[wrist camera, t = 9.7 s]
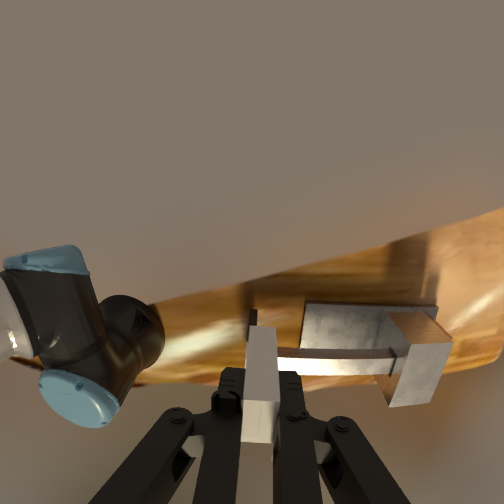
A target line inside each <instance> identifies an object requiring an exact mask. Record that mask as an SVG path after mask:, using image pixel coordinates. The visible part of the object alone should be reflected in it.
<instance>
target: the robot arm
mask: <svg viewBox="0 0 504 504" xmlns="http://www.w3.org/2000/svg"><path fill="white" fill-rule="evenodd" d="M3 268H4V269H5V270H4V271H2V272H0V362H2V361H4V360H5V359H7V358H9V357H11V356H13V355H19V356H22V357H25V358H27V359H32V358H34V357H35V356H37V355H38V356H39V358H40V360H41V362H42V365H43V367H44V369H45V370H44V371H42V373H41V374H40V378H39V383H38V386H39V390H40V392H41V394H42V396H43V398H44V399H45V401H46V402H47V403H48V404H49V406H50V407H51V408H52V409H53V410H54V411H56V412H57V413H58V414H60V415H61V416H62V417H64V418H66V419H67V420H69V421H70V422H72V423H75V424H77V425H80V426H83V427H88V428H100V427H103V426H105V425H107V424H108V423H109V422H110V421H111V420H112V418H113V417H114V415H115V414H116V413H117V412H118V411H119V409H120V407H121V405H122V403H123V401H124V399H125V397H126V395H127V394H128V392H129V390H130V388H131V386H132V384H133V383H134V381H135V379H136V377H137V375H138V374H139V373H140V372H141V371H143V370H144V369H146V368H148V367H150V366H151V365H153V364H154V363H155V362H156V361H157V360H158V358H159V356H160V354H161V353H162V351H163V348H164V344H165V334H164V330H163V327H162V324H161V322H160V320H159V319H158V317H157V316H156V314H155V313H154V312H153V311H152V310H151V309H150V308H149V307H148V306H147V305H146V304H144V303H143V302H141V301H139V300H137V299H135V298H133V297H130V296H125V295H114V296H110V297H108V298H106V299H104V300H103V301H102V302H101V303H99V304H98V301H97V298H96V295H95V292H94V289H93V286H92V283H91V279H90V276H89V275H90V272H89V271H87V268H86V265H85V262H84V259H83V256H82V253H81V251H80V250H79V249H78V248H77V247H76V246H73V245H64V246H58V247H52V248H47V249H42V250H37V251H32V252H27V253H23V254H18V255H14V256H10V257H6V258H4V260H3ZM211 405H212V407H211V410H210V411H208V412H206V413H202V414H194V415H193V414H192V413H191V412H190V411H189V410H187V409H185V408H180V407H176V408H171V409H168V410H166V411H165V412H164V413H163V414H162V415H161V417H160V418H159V419H158V420H157V422H156V423H155V424H154V425H153V427H152V428H151V429H150V430H149V431H148V433H147V434H146V435H145V436H144V438H143V439H142V440H141V441H140V442H139V444H138V445H137V446H136V447H135V449H134V450H133V451H132V452H131V453H130V455H129V456H128V457H127V458H126V459H125V461H124V462H123V463H122V464H121V465H120V467H119V468H118V469H117V470H116V471H115V472H114V474H113V475H112V476H111V477H110V479H109V480H108V481H107V482H106V483H105V484H104V485H103V487H102V488H101V489H100V490H99V491H98V492H97V494H96V495H95V496H94V497H93V498H92V500H91V501H90V502H89V503H88V504H168V503H169V501H170V499H171V498H172V496H173V494H174V493H175V491H176V490H177V488H178V487H179V485H180V483H181V482H182V480H183V478H184V477H185V475H186V474H187V472H188V470H189V469H190V467H191V465H192V464H193V462H194V460H195V458H196V457H199V456H202V459H201V464H200V468H199V473H198V478H197V483H196V488H195V493H194V498H193V503H192V504H235V502H236V491H237V480H238V479H237V478H238V469H239V457H240V444H241V441H243V442H258V443H273V441H274V448H273V453H272V459H271V461H273V504H323V502H322V495H321V487H320V480H319V473H320V474H321V477H322V479H323V481H324V483H325V485H326V487H327V489H328V491H329V493H330V495H331V497H332V499H333V501H334V503H335V504H411V503H410V502H409V500H408V499H407V497H406V496H405V495H404V493H403V492H402V490H401V489H400V487H399V486H398V484H397V483H396V481H395V480H394V478H393V477H392V475H391V474H390V472H389V471H388V470H387V468H386V467H385V465H384V464H383V462H382V461H381V459H380V458H379V456H378V455H377V453H376V452H375V450H374V449H373V447H372V446H371V445H370V443H369V442H368V440H367V439H366V437H365V436H364V434H363V433H362V431H361V430H360V428H359V427H358V425H357V424H356V423H355V422H354V421H353V420H352V419H350V418H348V417H344V416H336V417H334V418H331V419H330V420H329V421H328V422H325V421H321V420H318V419H315V418H313V417H311V416H310V415H309V412H308V411H306V408H305V401H304V394H303V388H302V382H301V377H300V375H299V374H298V373H297V372H296V371H287V370H278V354H277V339H276V327H264V326H250V330H249V341H248V351H247V362H246V369H244V368H232V367H226V368H225V369H224V370H223V371H222V372H221V377H220V381H219V386H218V390H217V391H216V392H214V393H213V395H212V397H211ZM318 470H319V472H318Z"/></svg>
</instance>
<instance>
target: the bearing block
mask: <svg viewBox="0 0 504 504" xmlns="http://www.w3.org/2000/svg"><path fill="white" fill-rule="evenodd" d="M438 309H439V307H438V306H437V305H390V304H358V303H333V302H313V301H306V305H305V312H304V319H303V326H302V332H301V339H300V345H299V348H315V349H393V351H394V352H395V354H396V355H397V360H396V363H395V366H394V369H393V372H392V374H373V375H374V377H375V379H376V381H377V383H378V386H379V388H380V390H381V391H382V394H383V396H384V398H385V400H386V403H387V404H388V407H396V406H406V405H415V404H422V403H429V402H430V399H431V397H432V395H433V393H434V391H435V388H436V386H437V384H438V381H439V379H440V377H441V374H442V372H443V369H444V367H445V364H446V361H447V359H448V356H449V353H450V351H451V348H452V345H453V341H452V340H451V339H450V338H449V337H448V336H447V335H446V334H445V333H444V332H443V331H442V330H441V329H440V328H439V327H438V326H437V325H436V324H435V323H434V322H433V321H432V320H431V319H434V320H435V319H436V316H437V312H438Z"/></svg>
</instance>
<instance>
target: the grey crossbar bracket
mask: <svg viewBox="0 0 504 504" xmlns="http://www.w3.org/2000/svg"><path fill="white" fill-rule="evenodd" d="M257 312H258V310H256V309H250V313H249V323H248V332H247V342H246V357H245V369H246V362H247V351H248V341H249V330H250V326H257ZM277 354H278V370H287V371H296V372H297V373H298V374H299V375H371V374H392V372H393V369H394V366H395V363H396V360H397V355H396V354H395V352H394V351H393V349H315V348H289V347H277Z"/></svg>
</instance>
